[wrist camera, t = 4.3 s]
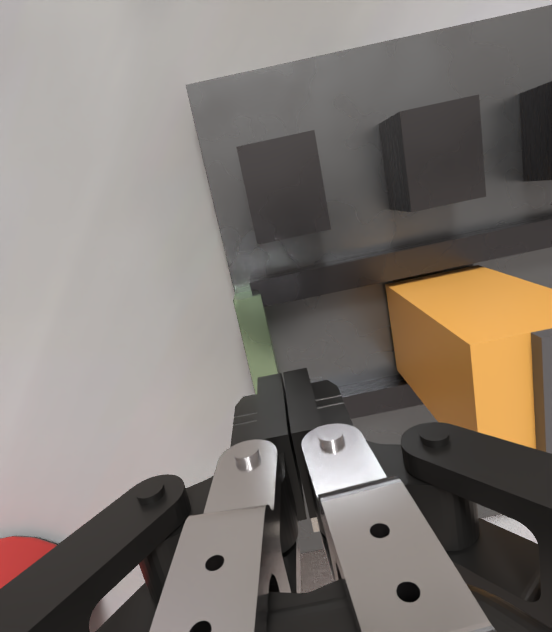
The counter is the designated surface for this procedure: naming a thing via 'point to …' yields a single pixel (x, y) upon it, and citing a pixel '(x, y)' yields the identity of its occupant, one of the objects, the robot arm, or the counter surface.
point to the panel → (377, 196)
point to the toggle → (478, 351)
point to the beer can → (20, 555)
